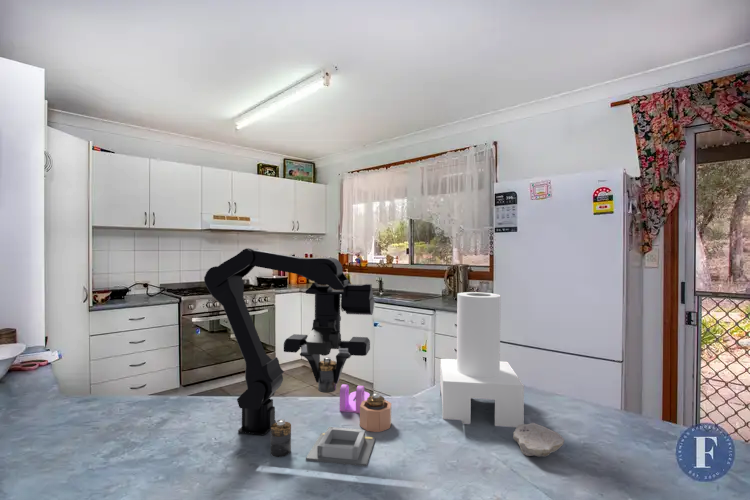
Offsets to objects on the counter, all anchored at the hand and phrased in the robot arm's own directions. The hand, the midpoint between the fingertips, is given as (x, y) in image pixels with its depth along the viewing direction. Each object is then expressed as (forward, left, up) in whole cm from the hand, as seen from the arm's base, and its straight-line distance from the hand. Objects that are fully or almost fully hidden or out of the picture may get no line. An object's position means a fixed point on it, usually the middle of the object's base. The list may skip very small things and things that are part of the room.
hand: (327, 382), depth 86 cm
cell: (0, 0, -2) cm, 2 cm away
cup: (+10, +5, -12) cm, 16 cm away
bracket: (+3, +17, -12) cm, 21 cm away
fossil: (+45, 0, -12) cm, 47 cm away
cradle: (+5, -7, -12) cm, 15 cm away
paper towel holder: (+35, +20, -12) cm, 42 cm away
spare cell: (-7, -10, -12) cm, 17 cm away
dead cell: (+10, +5, -11) cm, 16 cm away
